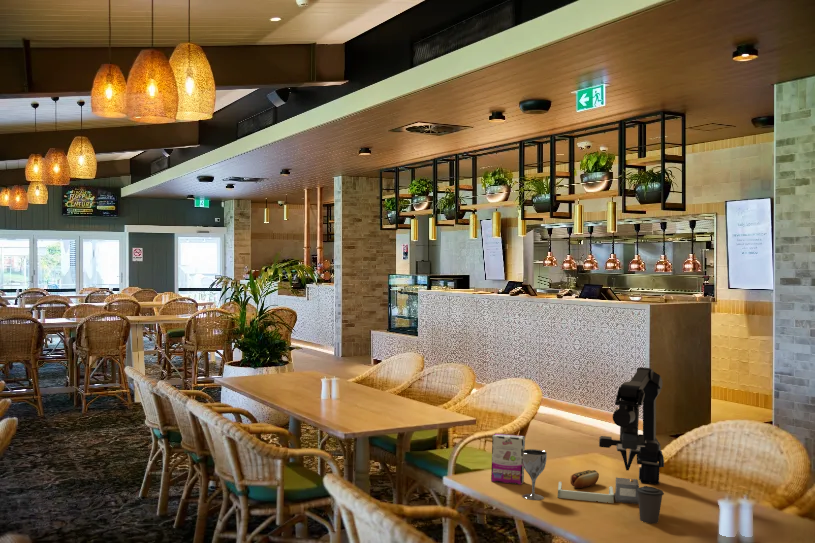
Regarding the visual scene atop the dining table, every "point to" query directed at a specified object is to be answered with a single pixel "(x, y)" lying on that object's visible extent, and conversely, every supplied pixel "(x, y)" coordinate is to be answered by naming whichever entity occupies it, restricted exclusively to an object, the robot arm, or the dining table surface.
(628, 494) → the box
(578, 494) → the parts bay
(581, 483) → the hot dog
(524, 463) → the wine glass
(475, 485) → the dining table surface
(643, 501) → the coffee cup
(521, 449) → the candy bar box
